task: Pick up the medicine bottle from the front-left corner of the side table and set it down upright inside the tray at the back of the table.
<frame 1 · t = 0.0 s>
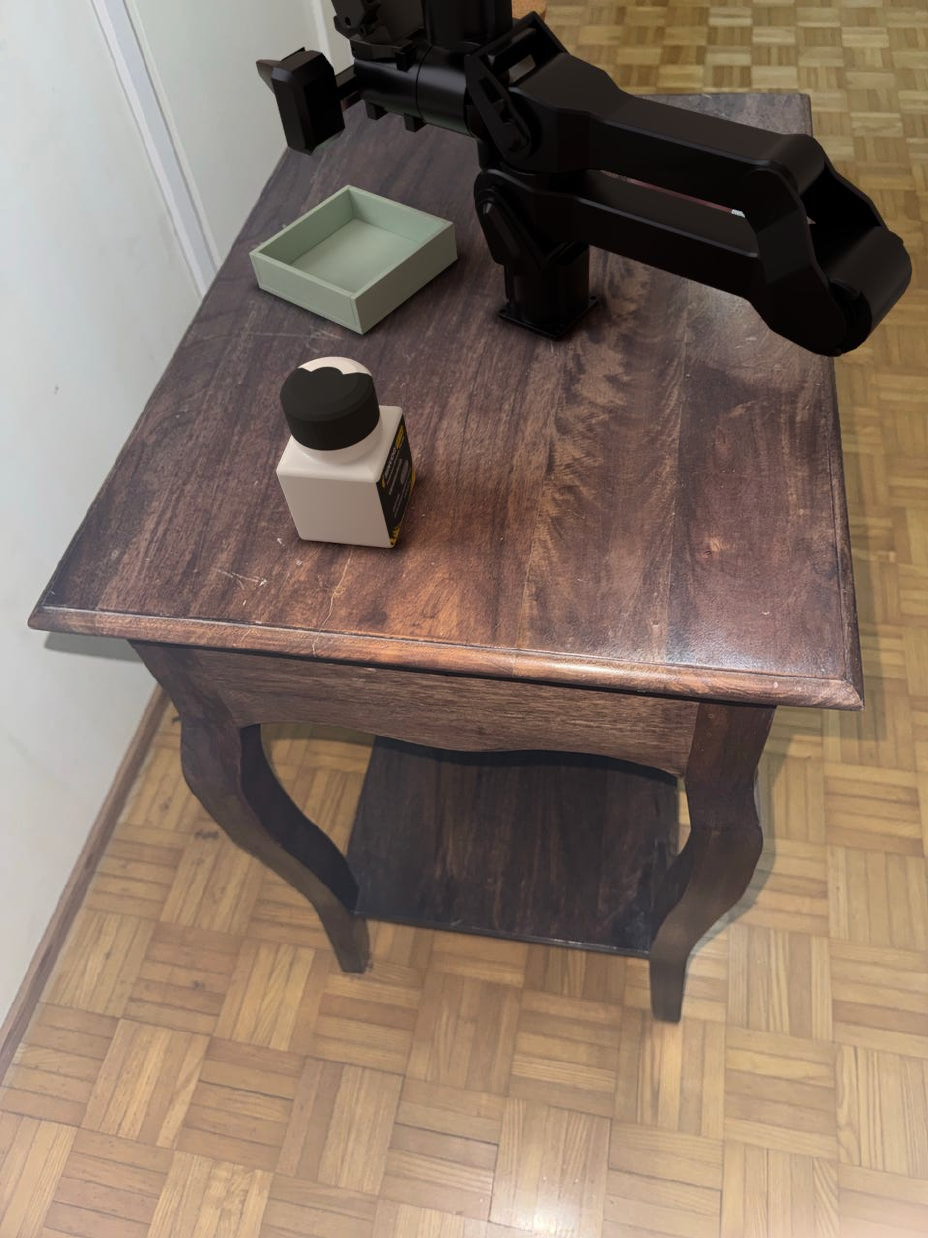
hand: (297, 43, 76), 17 cm above the table, tool horizontal, fingers open, 9 cm apart
medicine bottle: (360, 510, 67), on the table
bottle: (526, 176, 92), on the table
tray: (358, 273, 84), on the table
video game controller: (670, 237, 83), on the table
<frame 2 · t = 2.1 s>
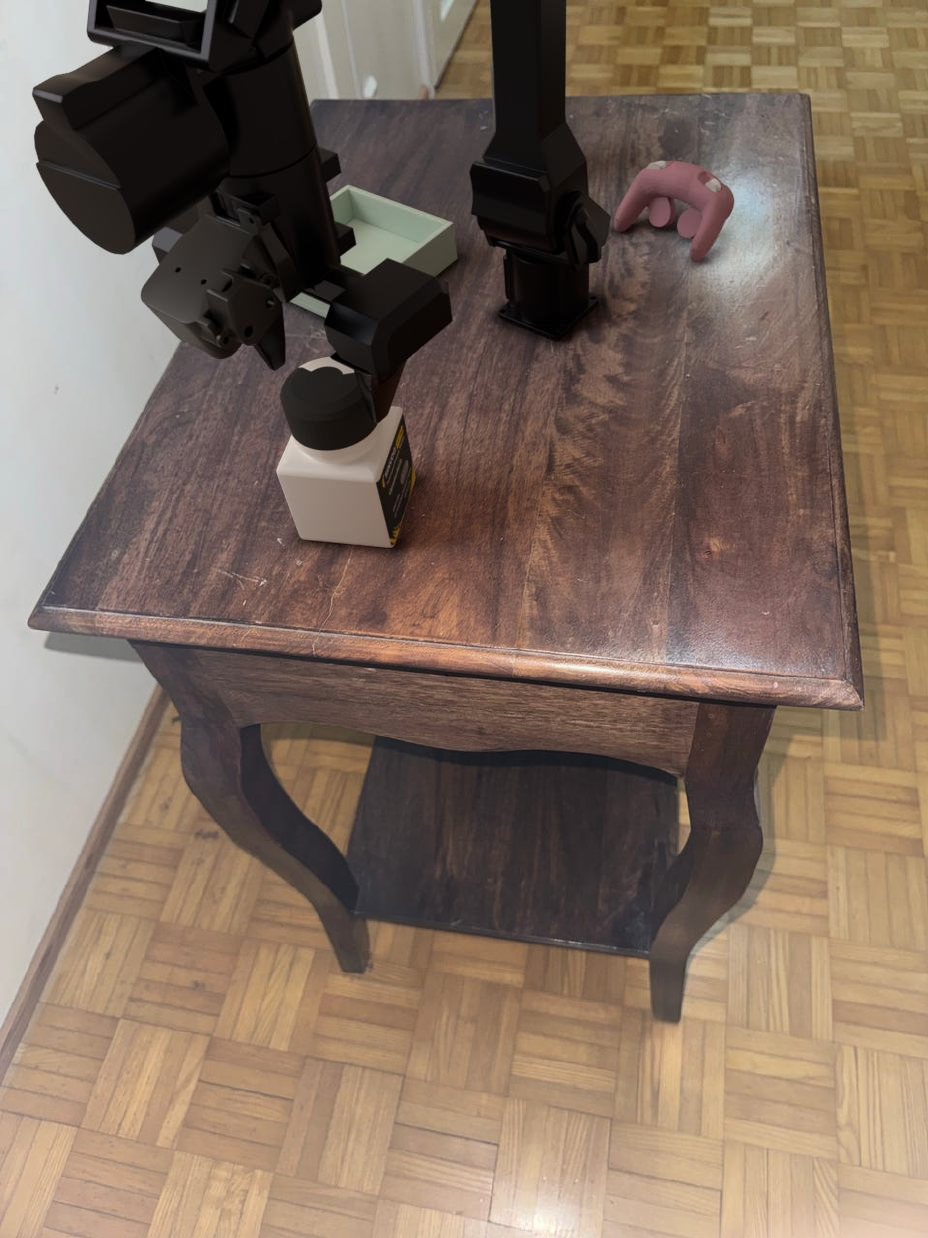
hand: (327, 391, 58), 11 cm above the table, tool pointing down, fingers open, 9 cm apart
nothing on the table moved.
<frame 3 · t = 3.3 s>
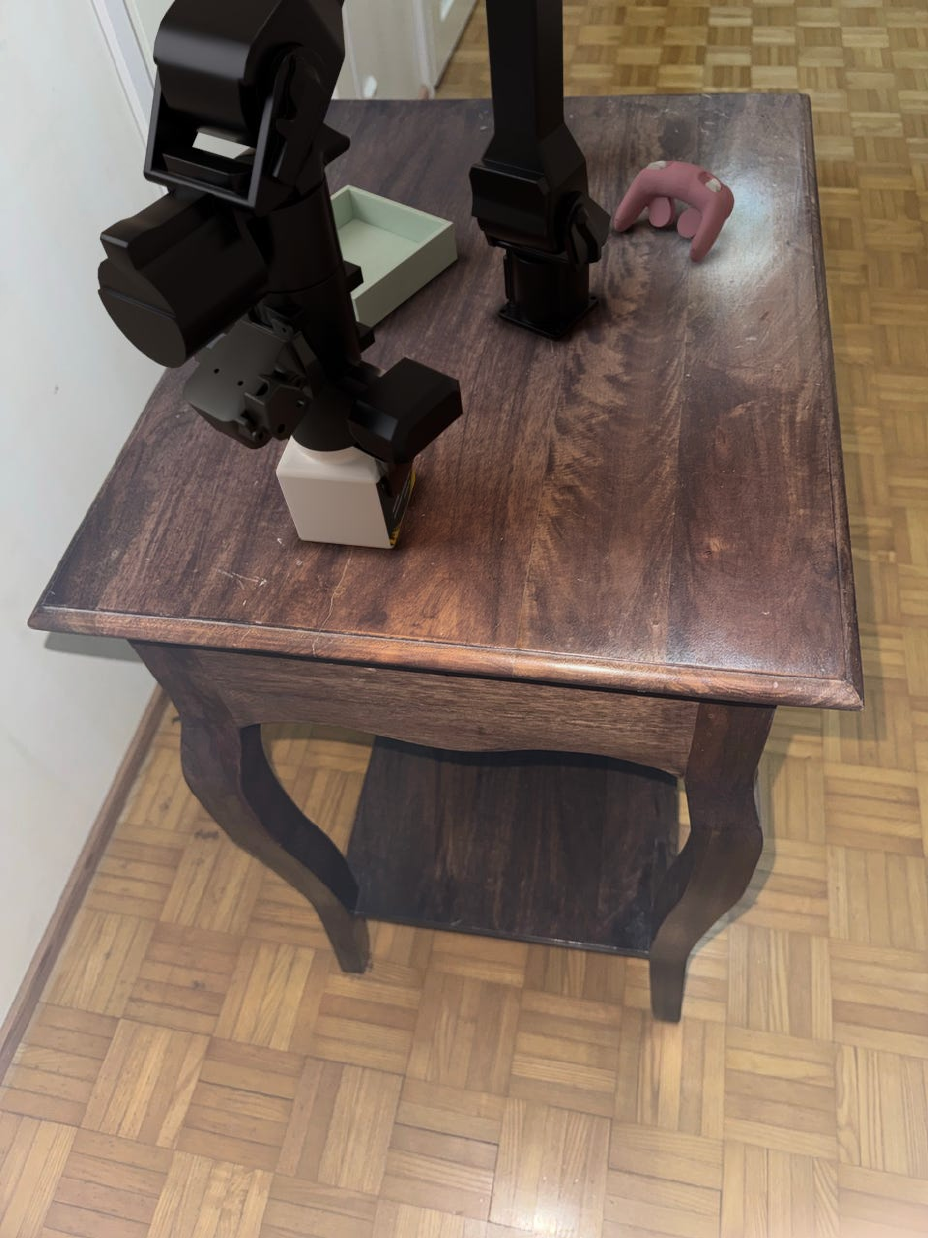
hand: (345, 466, 63), 5 cm above the table, tool pointing down, fingers closed on medicine bottle, 9 cm apart
medicine bottle: (359, 511, 67), on the table, touching gripper
everything else where it was.
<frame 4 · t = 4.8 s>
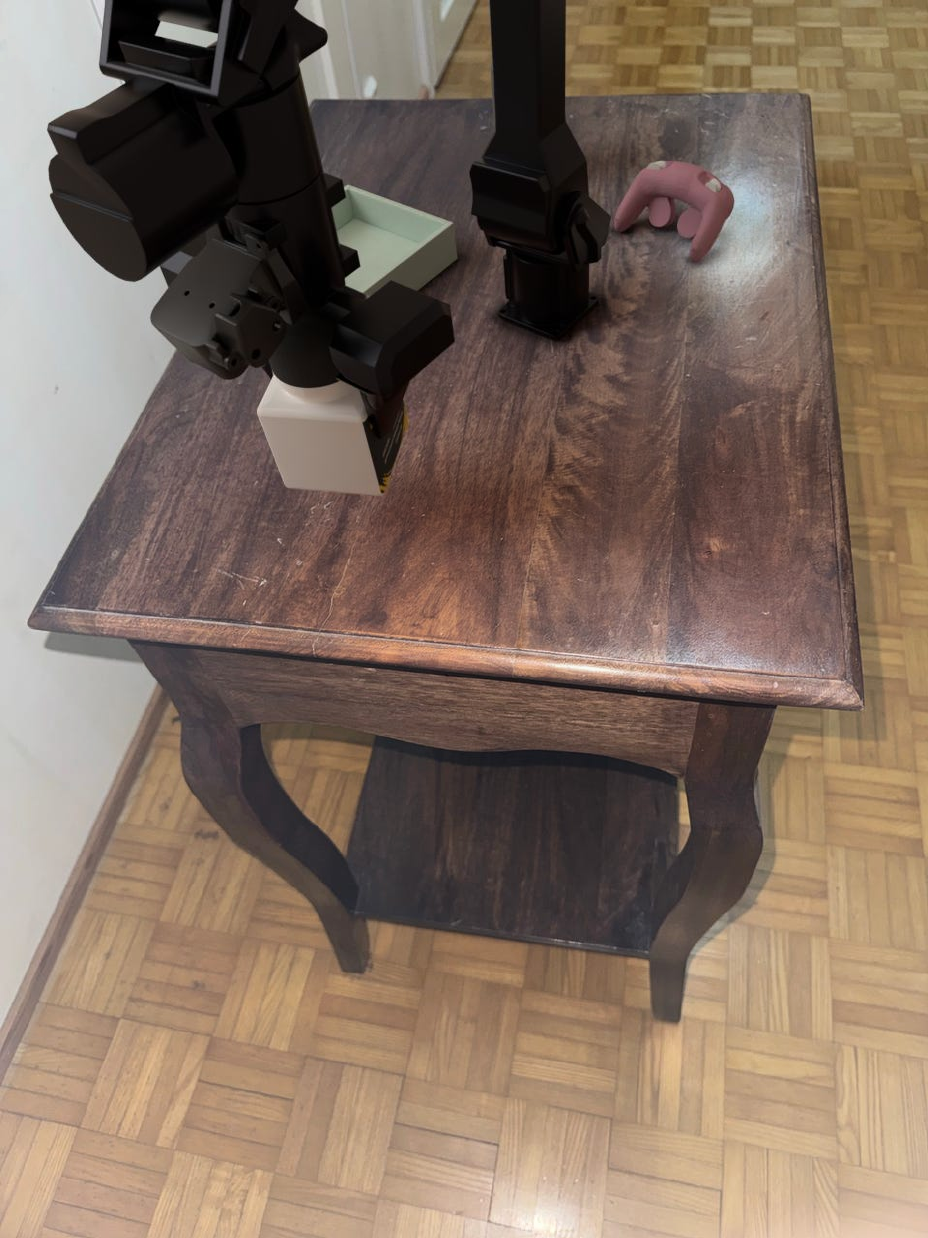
hand: (331, 407, 59), 10 cm above the table, tool pointing down, fingers closed on medicine bottle, 9 cm apart
medicine bottle: (349, 458, 63), point 5 cm above the table, touching gripper
everything else where it was.
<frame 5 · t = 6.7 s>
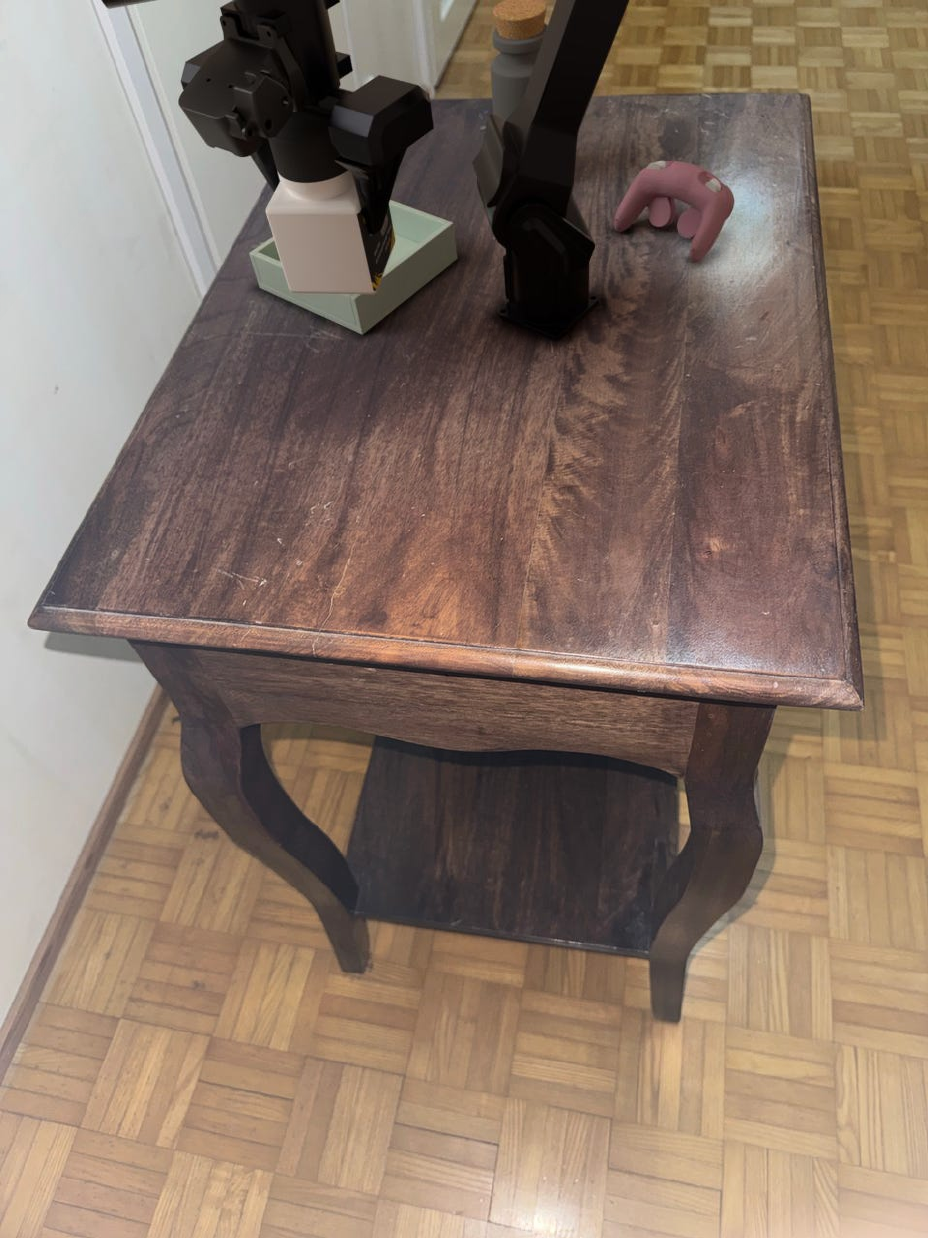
hand: (329, 215, 68), 12 cm above the table, tool pointing down, fingers closed on medicine bottle, 9 cm apart
medicine bottle: (344, 269, 72), point 7 cm above the table, touching gripper
everything else where it was.
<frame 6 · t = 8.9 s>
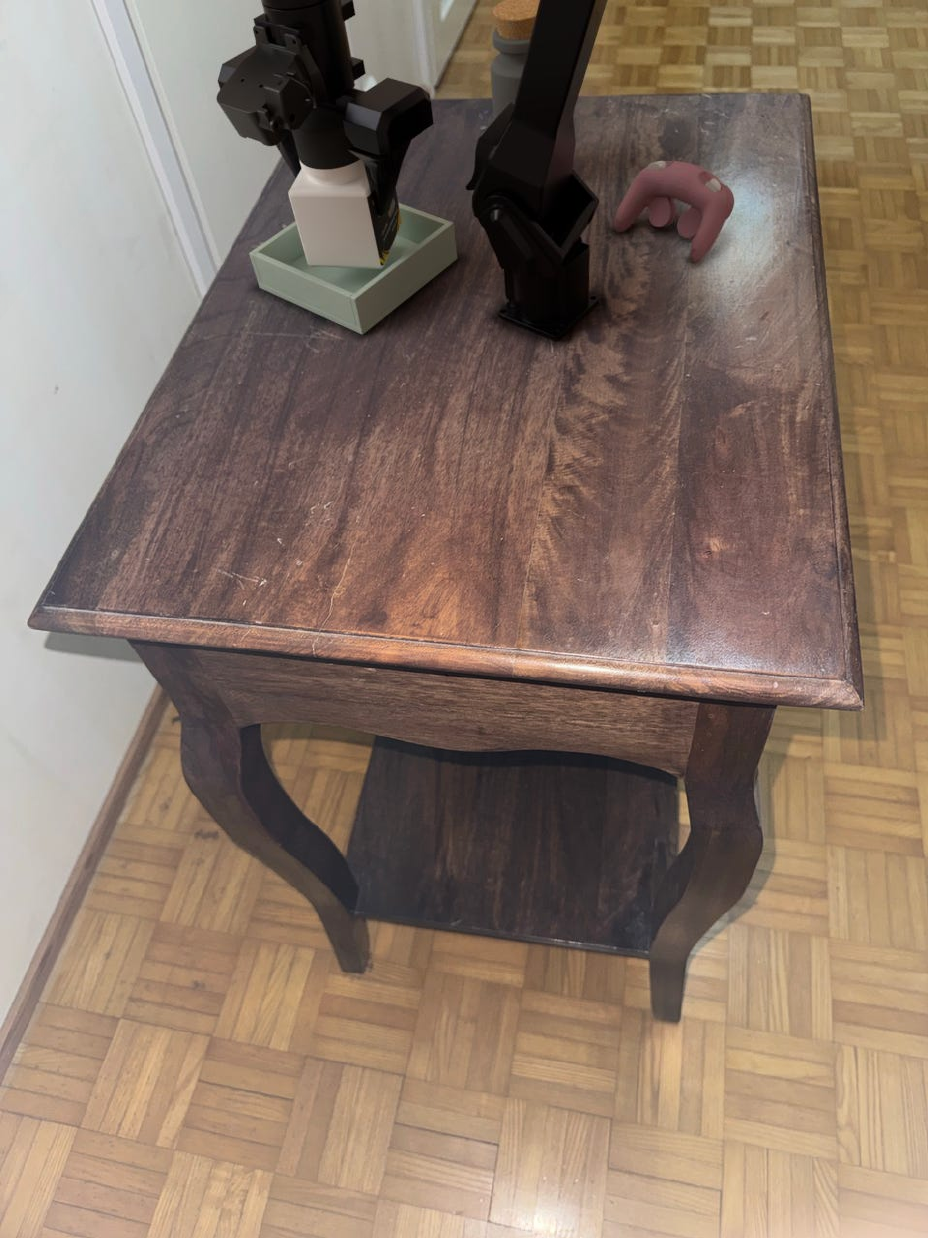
hand: (343, 198, 78), 7 cm above the table, tool pointing down, fingers closed on medicine bottle, 9 cm apart
medicine bottle: (356, 247, 82), point 3 cm above the table, touching gripper
everything else where it was.
when the fingers open (5 cm above the table, at t = 10.3 s): medicine bottle stays where it is, resting on tray.
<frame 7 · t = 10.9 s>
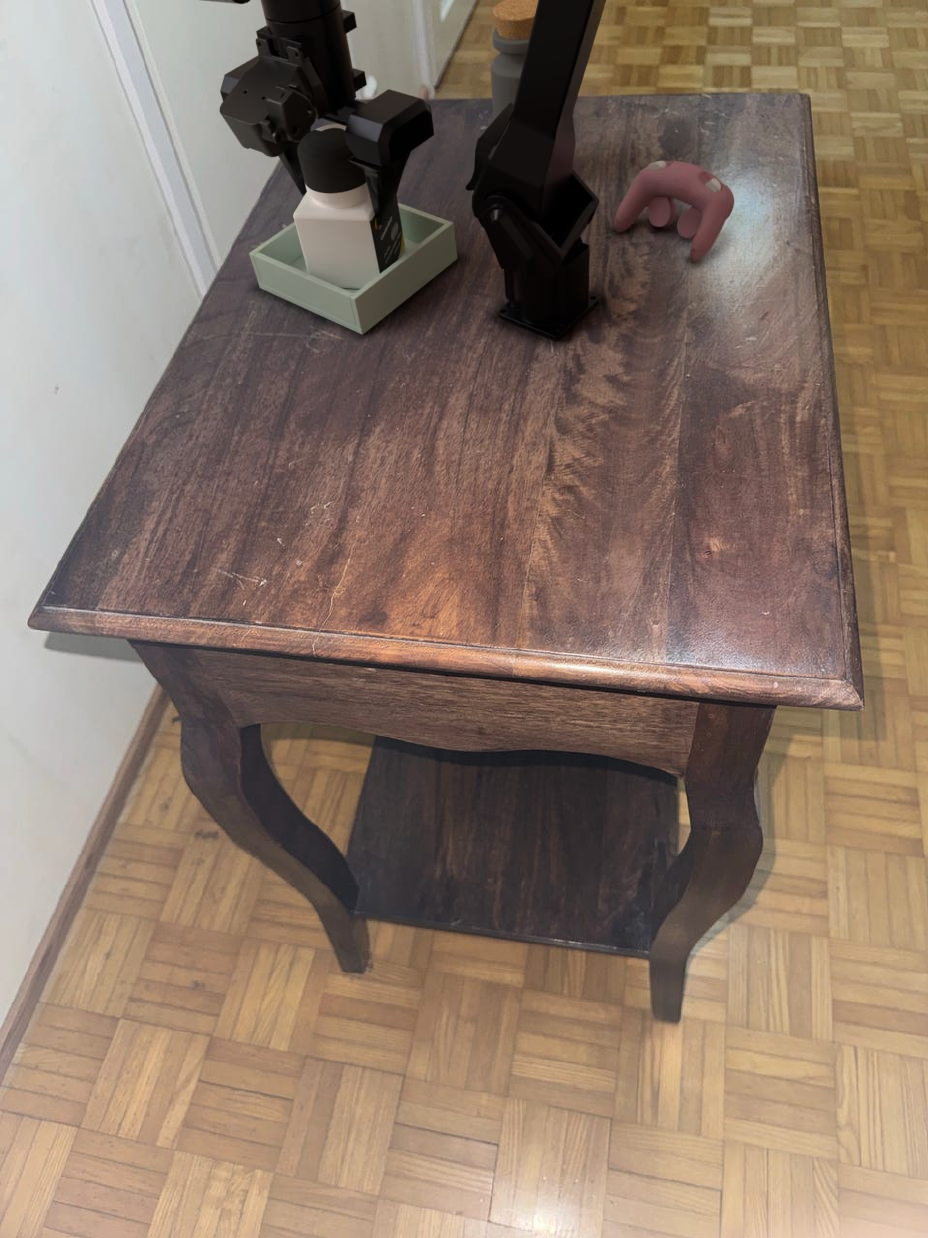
hand: (345, 207, 79), 6 cm above the table, tool pointing down, fingers open, 9 cm apart
medicine bottle: (359, 268, 84), resting on tray
everything else where it was.
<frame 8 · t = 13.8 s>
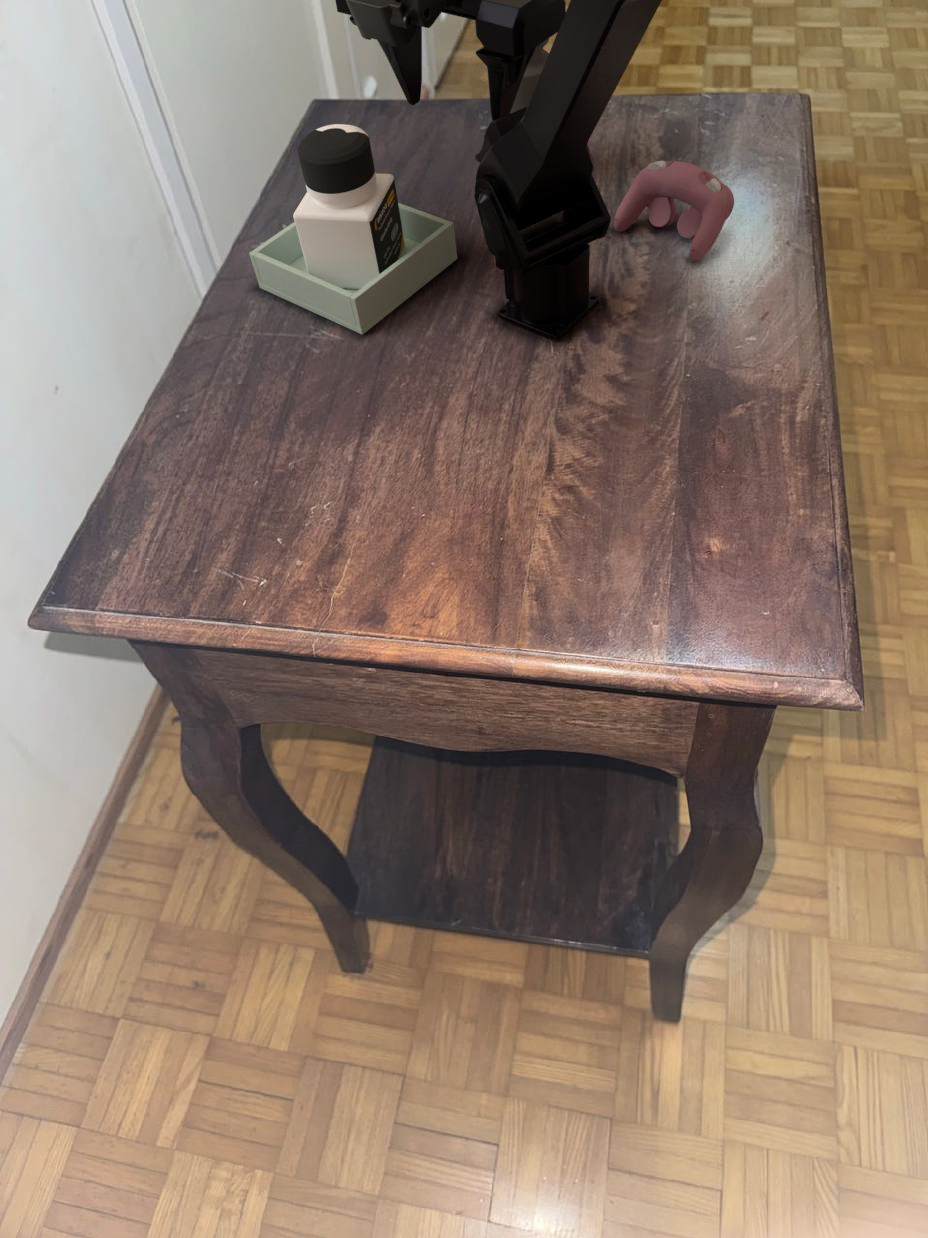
hand: (456, 115, 75), 12 cm above the table, tool pointing down, fingers open, 9 cm apart
nothing on the table moved.
at the end: medicine bottle inside the target area in the tray (0.1 cm from its centre), point 0.4 cm above the tray's base; medicine bottle tilted 0°; the gripper is holding nothing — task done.
